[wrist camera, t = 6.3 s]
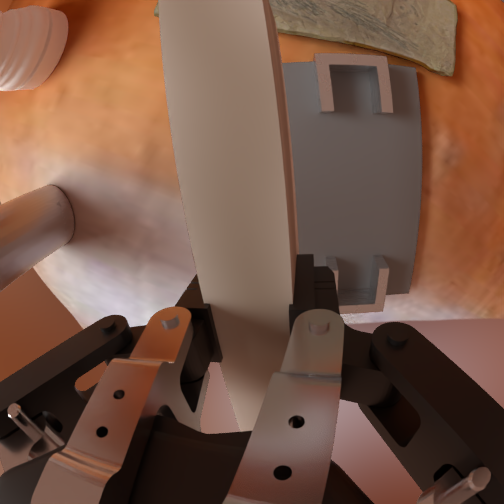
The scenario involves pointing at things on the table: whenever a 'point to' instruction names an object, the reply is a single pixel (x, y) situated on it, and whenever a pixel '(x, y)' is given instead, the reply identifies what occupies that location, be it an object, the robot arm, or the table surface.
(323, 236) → the base board
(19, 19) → the honey pot
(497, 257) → the table surface
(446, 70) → the stone slab
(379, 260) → the end caps
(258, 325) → the slat
